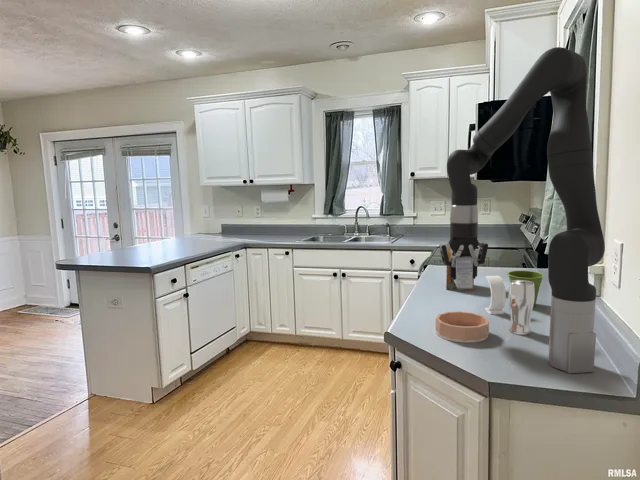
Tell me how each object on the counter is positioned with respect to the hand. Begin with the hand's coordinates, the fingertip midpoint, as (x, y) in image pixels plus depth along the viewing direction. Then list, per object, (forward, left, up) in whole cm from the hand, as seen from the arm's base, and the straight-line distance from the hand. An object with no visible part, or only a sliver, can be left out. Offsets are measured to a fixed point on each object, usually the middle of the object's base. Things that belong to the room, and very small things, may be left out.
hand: (463, 278), depth 129 cm
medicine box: (0, 0, -2) cm, 2 cm away
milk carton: (+54, -19, -17) cm, 59 cm away
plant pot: (+26, -32, -17) cm, 45 cm away
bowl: (0, 0, -17) cm, 17 cm away
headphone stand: (+19, -18, -17) cm, 31 cm away
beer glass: (0, -17, -17) cm, 24 cm away
